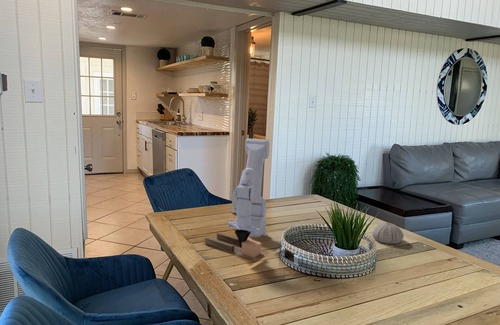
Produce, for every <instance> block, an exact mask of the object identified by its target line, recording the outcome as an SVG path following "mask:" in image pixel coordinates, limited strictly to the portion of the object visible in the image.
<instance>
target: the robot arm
mask: <svg viewBox="0 0 500 325" xmlns="http://www.w3.org/2000/svg"><path fill="white" fill-rule="evenodd" d="M244 150H245V153H246V155H247V159H246V160H247V161H246V164H245V165H246V166H245V168H244V169H243V170H242V171H241V176H240V178H239V179H240V180H239V184H238V185H237V186H236V187H235V189H236V191H235V197H236V203H237V213H236V219H235V220H236V221H233V220H230V221H227V227H229V228H230V227H231V228H234V229H235V230H234V234H235V237H236V238H238V241H239V245H240V248H242V242H244V241H246V240H248V239H249V237H250V238H260V237H262V236H267V235H268V233H266V231H267V230H266V229H267V220H266V218H265V217H266V215H267V200H266V199H265V198H264V196H263V197H262V186H263V185H262V183H263V172H264V171H263V170H264V162H265V160H266V159H268V158H269V155H270V154H269V153H270V140H269V139H263V138H262V139H258V138H249V137H247V139H246V140H245V142H244ZM251 202H252V203H251Z"/></svg>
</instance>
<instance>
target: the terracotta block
mask: <svg viewBox="0 0 500 325" xmlns="http://www.w3.org/2000/svg"><path fill="white" fill-rule="evenodd" d="M262 244H263V243H262V242H260V241H258V240H254V239H252V238H251V239H250V238H248V239H247V240H246V241H244V242H242V254H245V255H248V256H251V257H256V256H258V255H259V254H261V250H262Z"/></svg>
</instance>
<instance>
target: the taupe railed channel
mask: <svg viewBox="0 0 500 325" xmlns="http://www.w3.org/2000/svg"><path fill="white" fill-rule="evenodd" d="M204 240H205V241H204V242H203V243H202V245H204V246H206V247H210V248H212V249H216V250H218V251H220V252H221V251H222V252H225V253H227V254H230V255H234V256H237V257H239V258H243V259H246V260H249V261H251V262H253V264H255V263H256V261H255V260H258V261H260V260H262V259H263V258H265V257H266V256H268V254H269V251H266V250H264V249H261V254H259V255H258V256H256V257H251V256H248V255H245V254H242V248H240V245H239V241H238V238H237V236H233V235H229V234H226V233H222V232H220V231H219V232H217V233H216V237H214V238H212V237H208V236H207V237H205V238H204ZM264 255H265V256H264Z"/></svg>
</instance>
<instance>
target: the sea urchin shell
mask: <svg viewBox="0 0 500 325" xmlns="http://www.w3.org/2000/svg"><path fill="white" fill-rule="evenodd" d="M372 237H373V239H374V240H376V241H377V242H380V243H383V244H387V245H389V244H390V245H397V244H399V243H402V241H403V239H404V233H403V231H402V229H400V227H399V226H397V225H396V224H394V223H391V222H381V223H380V224H378V225H377V226H376V227H375V228H374V229H373V231H372Z"/></svg>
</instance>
